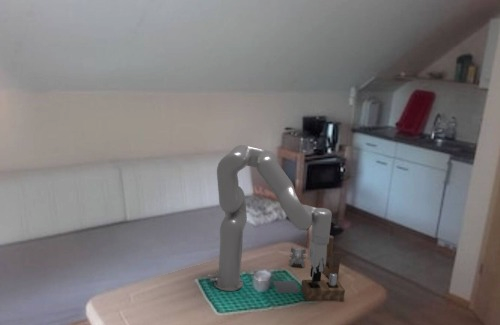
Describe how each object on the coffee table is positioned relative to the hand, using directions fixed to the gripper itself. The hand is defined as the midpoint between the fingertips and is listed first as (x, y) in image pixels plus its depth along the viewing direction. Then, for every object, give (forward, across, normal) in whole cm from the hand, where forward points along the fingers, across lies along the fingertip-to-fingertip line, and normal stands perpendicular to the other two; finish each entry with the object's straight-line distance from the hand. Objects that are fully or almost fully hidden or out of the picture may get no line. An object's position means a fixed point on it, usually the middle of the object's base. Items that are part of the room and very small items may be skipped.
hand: (315, 278), depth 186 cm
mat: (+8, -7, -10) cm, 15 cm away
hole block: (+8, 0, +4) cm, 9 cm away
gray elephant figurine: (+8, -30, 0) cm, 31 cm away
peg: (+3, 0, 0) cm, 3 cm away
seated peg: (+8, 0, +8) cm, 11 cm away
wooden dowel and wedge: (+8, -18, +13) cm, 24 cm away
